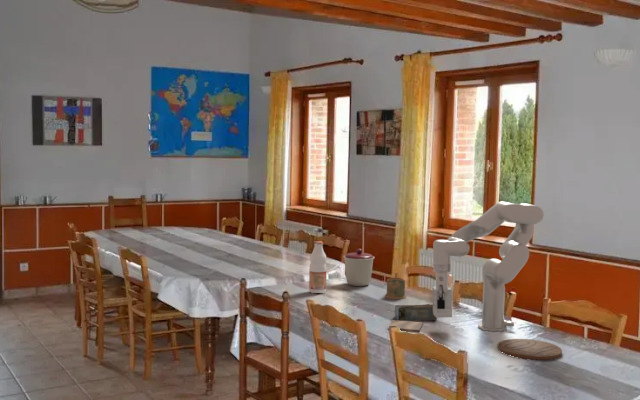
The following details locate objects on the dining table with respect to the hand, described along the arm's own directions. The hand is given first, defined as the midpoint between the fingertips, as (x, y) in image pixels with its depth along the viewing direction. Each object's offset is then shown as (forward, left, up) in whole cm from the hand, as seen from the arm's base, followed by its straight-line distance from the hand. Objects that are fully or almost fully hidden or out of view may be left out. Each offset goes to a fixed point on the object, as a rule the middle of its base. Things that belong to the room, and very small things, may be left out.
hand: (442, 306), depth 319 cm
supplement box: (0, 0, -5) cm, 5 cm away
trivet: (-37, +21, -11) cm, 44 cm away
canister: (+55, -87, -11) cm, 103 cm away
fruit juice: (+72, -58, -11) cm, 93 cm away
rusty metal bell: (+30, -65, -11) cm, 72 cm away
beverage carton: (+13, -17, -11) cm, 25 cm away
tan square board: (+16, 0, -11) cm, 19 cm away
